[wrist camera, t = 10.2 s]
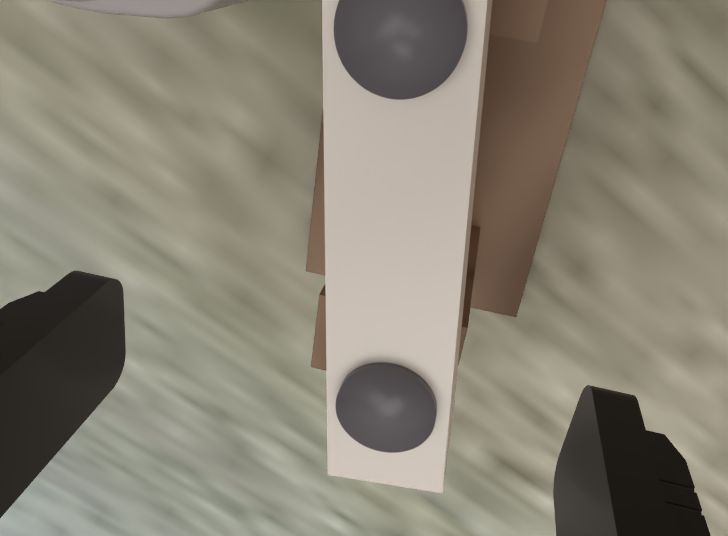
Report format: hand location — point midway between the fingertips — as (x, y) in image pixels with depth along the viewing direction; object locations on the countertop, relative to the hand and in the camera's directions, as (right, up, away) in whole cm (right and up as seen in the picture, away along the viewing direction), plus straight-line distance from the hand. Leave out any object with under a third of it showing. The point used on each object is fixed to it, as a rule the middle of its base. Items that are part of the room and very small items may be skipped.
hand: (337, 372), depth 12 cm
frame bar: (+2, +4, +9) cm, 10 cm away
